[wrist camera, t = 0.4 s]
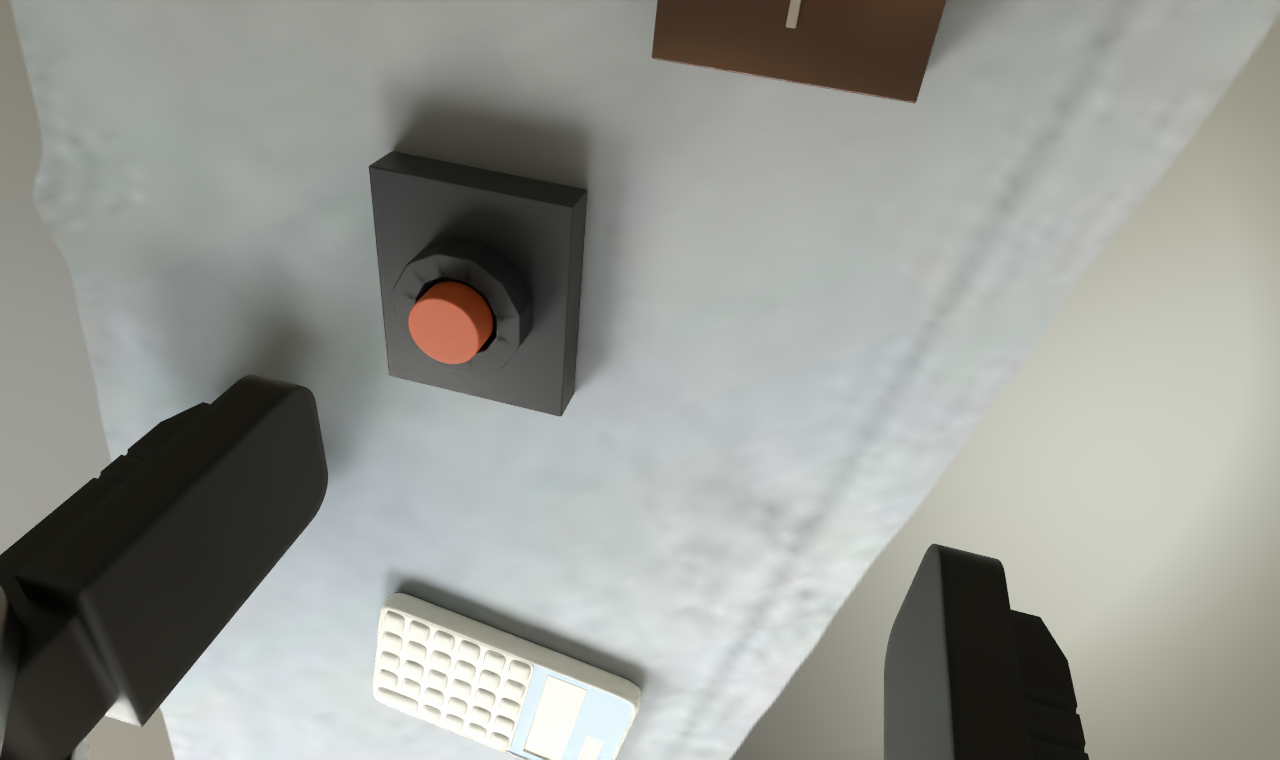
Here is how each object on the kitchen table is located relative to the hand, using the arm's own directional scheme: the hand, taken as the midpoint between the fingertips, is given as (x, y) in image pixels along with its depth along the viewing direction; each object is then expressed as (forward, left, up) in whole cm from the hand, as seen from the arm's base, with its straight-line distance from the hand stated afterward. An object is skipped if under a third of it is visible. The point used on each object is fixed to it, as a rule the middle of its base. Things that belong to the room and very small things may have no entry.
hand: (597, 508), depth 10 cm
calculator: (+49, -12, -28) cm, 57 cm away
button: (+14, -13, -24) cm, 30 cm away
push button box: (+14, -13, -27) cm, 33 cm away
